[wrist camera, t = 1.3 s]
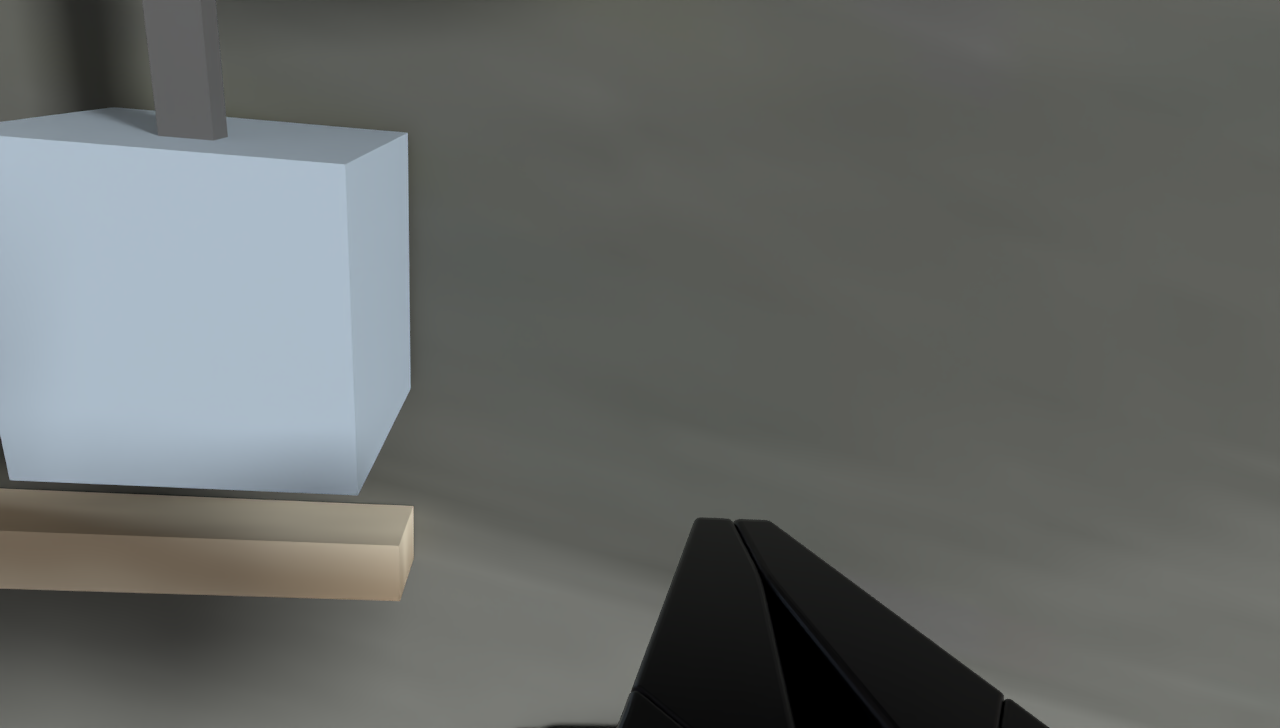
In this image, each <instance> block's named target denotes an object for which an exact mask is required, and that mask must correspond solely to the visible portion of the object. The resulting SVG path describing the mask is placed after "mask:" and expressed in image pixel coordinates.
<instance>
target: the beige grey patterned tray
mask: <svg viewBox="0 0 1280 728" xmlns="http://www.w3.org/2000/svg"><path fill="white" fill-rule="evenodd" d="M413 559H414V523H413V506H403V505H379V504H356V503H332V502H308V501H285V500H261V499H238V498H214V497H191V496H167V495H144V494H120V493H97V492H73V491H50V490H26V489H2V488H0V589H29V590H61V591H93V592H125V593H157V594H189V595H221V596H253V597H286V598H318V599H350V600H382V601H400V599H401V596H402V593H403V590H404V587H405V584H406V581H407V578H408V574H409V571H410V568H411V565H412V562H413Z"/></svg>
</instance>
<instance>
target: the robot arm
mask: <svg viewBox="0 0 1280 728" xmlns="http://www.w3.org/2000/svg"><path fill="white" fill-rule="evenodd" d="M617 728H1049V727H1048V726H1046V725H1045V724H1043V723H1042V722H1041V721H1039V720H1038V719H1037V718H1035V717H1034V716H1033V715H1031V714H1030V713H1029V712H1027V711H1026V710H1025V709H1023V708H1022V707H1021V706H1019V705H1018V704H1017V703H1015V702H1014V701H1013V700H1011V699H1006V700H1004V695H1003V694H1002V693H1001V692H1000V691H999V690H997V689H996V688H995V687H993V686H992V685H991V684H989V683H988V682H987V681H985V680H984V679H983V678H981V677H980V676H978V675H977V674H976V673H974V672H973V671H972V670H970V669H969V668H968V667H966V666H965V665H964V664H962V663H961V662H960V661H958V660H957V659H956V658H954V657H953V656H951V655H950V654H949V653H947V652H946V651H945V650H943V649H942V648H941V647H939V646H938V645H937V644H935V643H934V642H933V641H931V640H930V639H929V638H927V637H926V636H925V635H923V634H922V633H920V632H919V631H918V630H916V629H915V628H914V627H912V626H911V625H910V624H908V623H907V622H906V621H904V620H903V619H902V618H900V617H899V616H898V615H896V614H895V613H894V612H892V611H891V610H889V609H888V608H887V607H885V606H884V605H883V604H881V603H880V602H879V601H877V600H876V599H875V598H873V597H872V596H871V595H869V594H868V593H867V592H865V591H864V590H862V589H861V588H860V587H858V586H857V585H856V584H854V583H853V582H852V581H850V580H849V579H848V578H846V577H845V576H844V575H842V574H841V573H840V572H838V571H837V570H836V569H834V568H833V567H831V566H830V565H829V564H827V563H826V562H825V561H823V560H822V559H821V558H819V557H818V556H817V555H815V554H814V553H813V552H811V551H810V550H809V549H807V548H806V547H805V546H803V545H802V544H800V543H799V542H798V541H796V540H795V539H794V538H792V537H791V536H790V535H788V534H787V533H786V532H784V531H783V530H782V529H780V528H779V527H778V526H776V525H775V524H773V523H772V522H770V521H767V520H748V519H739V520H736V521H734V522H732V521H731V520H730V519H724V518H697V519H696V520H695V521H694V523H693V526H692V529H691V531H690V534H689V537H688V539H687V542H686V545H685V548H684V550H683V553H682V556H681V558H680V561H679V564H678V566H677V569H676V572H675V575H674V577H673V580H672V583H671V585H670V588H669V591H668V593H667V596H666V599H665V601H664V604H663V607H662V610H661V612H660V615H659V618H658V620H657V623H656V626H655V628H654V631H653V634H652V636H651V639H650V642H649V644H648V647H647V650H646V653H645V655H644V658H643V661H642V663H641V666H640V669H639V671H638V674H637V677H636V679H635V682H634V685H633V687H632V690H631V693H630V695H629V697H628V699H627V702H626V705H625V708H624V710H623V713H622V716H621V718H620V721H619V723H618V725H617Z"/></svg>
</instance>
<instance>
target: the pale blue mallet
mask: <svg viewBox="0 0 1280 728" xmlns="http://www.w3.org/2000/svg"><path fill="white" fill-rule="evenodd" d="M142 3H143V12H144V20H145V28H146V37H147V45H148V54H149V62H150V71H151V79H152V88H153V96H154V104H155V111H151V110H140V109H128V108H117V107H111V108H103V109H95V110H88V111H80V112H73V113H65V114H57V115H50V116H42V117H35V118H27V119H19V120H12V121H4V122H0V436H1V441H2V446H3V450H4V455H5V460H6V464H7V469H8V474H9V479H10V480H15V481H38V482H61V483H84V484H107V485H130V486H153V487H176V488H199V489H222V490H245V491H268V492H291V493H314V494H337V495H358V494H359V492H360V490H361V488H362V486H363V484H364V482H365V480H366V478H367V476H368V474H369V472H370V470H371V468H372V466H373V464H374V462H375V460H376V458H377V456H378V454H379V452H380V450H381V448H382V445H383V443H384V441H385V439H386V437H387V435H388V433H389V431H390V429H391V427H392V425H393V423H394V421H395V419H396V417H397V415H398V413H399V411H400V409H401V407H402V405H403V403H404V401H405V399H406V397H407V395H408V393H409V391H410V389H411V385H410V291H409V198H408V133H405V132H393V131H382V130H370V129H359V128H347V127H336V126H324V125H313V124H301V123H290V122H278V121H267V120H255V119H244V118H232V117H226V110H225V99H224V88H223V76H222V65H221V54H220V42H219V31H218V20H217V8H216V0H142Z"/></svg>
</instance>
